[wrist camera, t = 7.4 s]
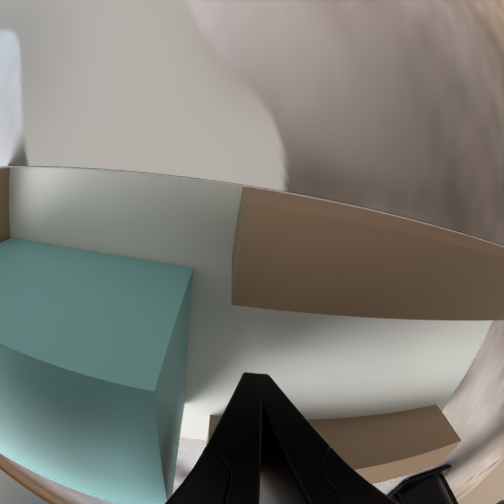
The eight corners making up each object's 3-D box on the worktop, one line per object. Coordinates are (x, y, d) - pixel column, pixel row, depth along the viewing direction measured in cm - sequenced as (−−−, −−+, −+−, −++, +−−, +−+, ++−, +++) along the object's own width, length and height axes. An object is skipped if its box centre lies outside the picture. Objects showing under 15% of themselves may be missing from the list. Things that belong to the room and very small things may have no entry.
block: (193, 267, 8) (154, 391, 4) (184, 406, 10) (169, 515, 5) (11, 237, 8) (-87, 294, 3) (36, 367, 9) (-15, 443, 5)
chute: (509, 248, 10) (560, 274, 6) (427, 418, 13) (452, 458, 10) (6, 165, 8) (-62, 178, 4) (40, 389, 11) (12, 435, 7)
